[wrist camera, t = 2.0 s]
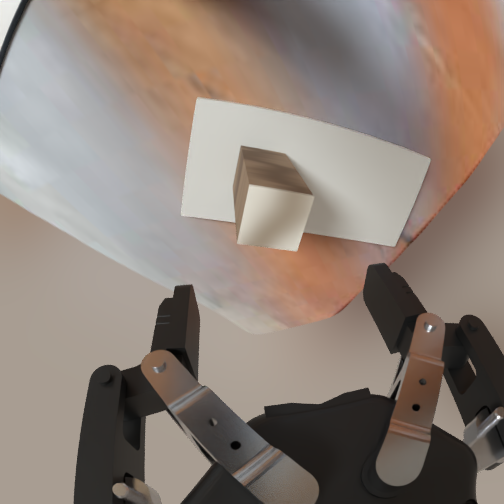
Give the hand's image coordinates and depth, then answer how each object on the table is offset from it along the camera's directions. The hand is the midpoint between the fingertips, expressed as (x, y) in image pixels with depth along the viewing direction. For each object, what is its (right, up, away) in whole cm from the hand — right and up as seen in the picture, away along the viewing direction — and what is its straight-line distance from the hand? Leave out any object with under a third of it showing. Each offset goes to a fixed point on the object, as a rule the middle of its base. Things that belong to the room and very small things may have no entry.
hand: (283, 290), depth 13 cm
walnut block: (-1, +11, +20) cm, 23 cm away
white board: (+6, +11, +22) cm, 26 cm away
